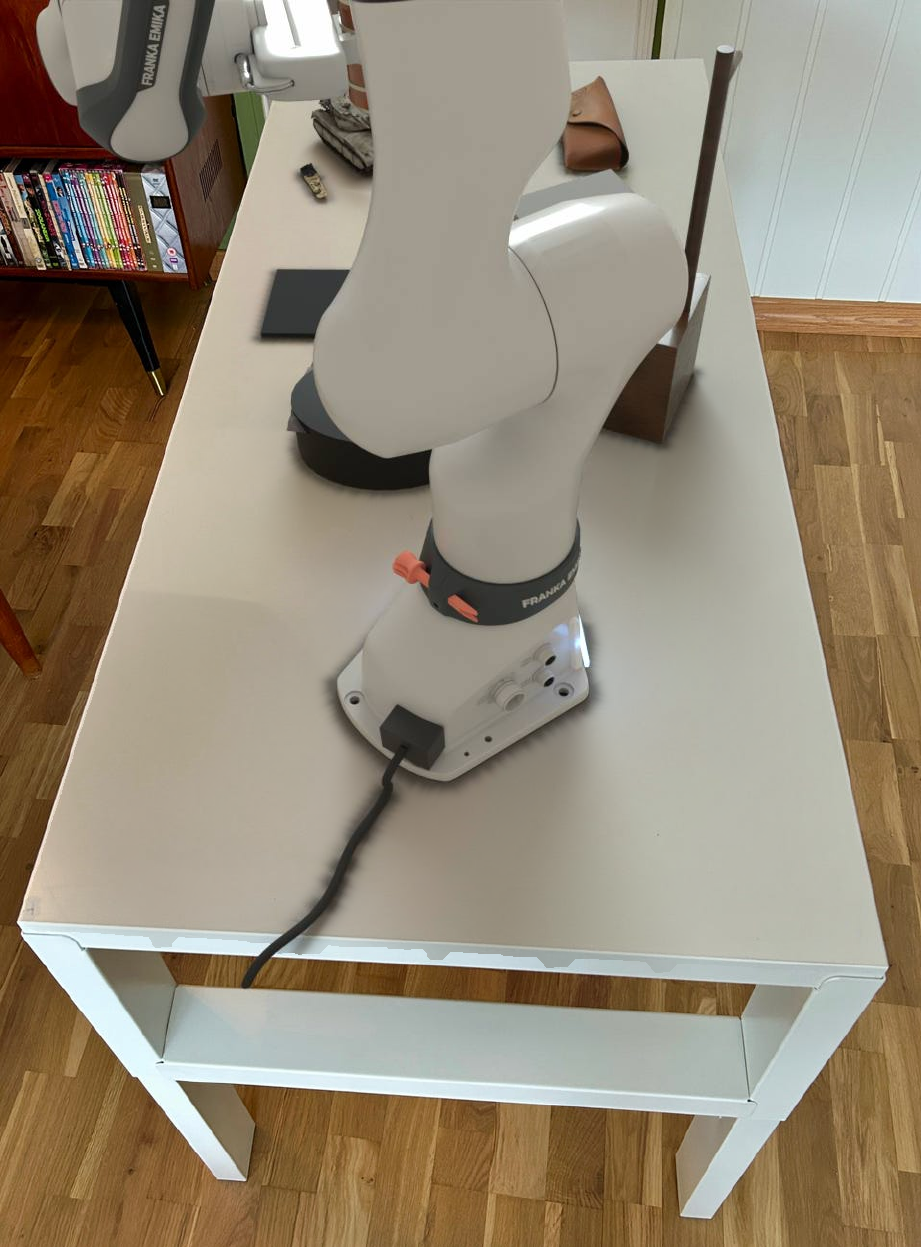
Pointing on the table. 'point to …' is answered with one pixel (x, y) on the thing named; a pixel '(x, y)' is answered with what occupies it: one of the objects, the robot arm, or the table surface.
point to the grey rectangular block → (571, 192)
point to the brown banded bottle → (354, 70)
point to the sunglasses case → (594, 131)
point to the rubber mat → (300, 301)
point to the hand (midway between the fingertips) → (382, 17)
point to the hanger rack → (673, 357)
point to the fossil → (313, 180)
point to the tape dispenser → (347, 448)
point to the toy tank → (346, 131)
